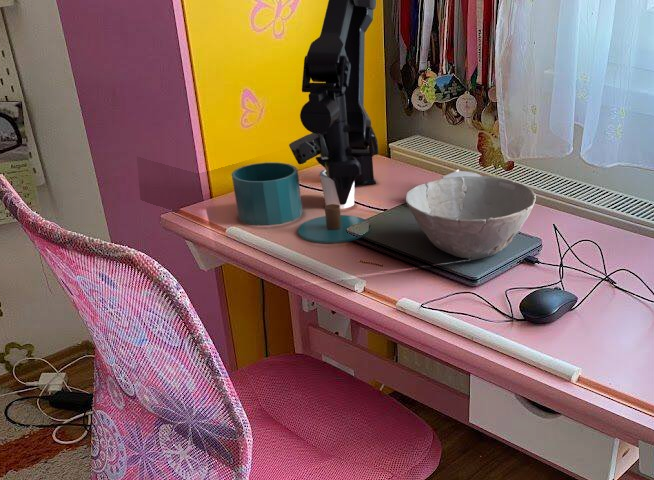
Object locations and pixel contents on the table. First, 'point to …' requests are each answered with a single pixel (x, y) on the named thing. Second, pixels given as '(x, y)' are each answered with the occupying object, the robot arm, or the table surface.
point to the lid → (330, 227)
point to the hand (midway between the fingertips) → (339, 199)
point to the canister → (267, 193)
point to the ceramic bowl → (471, 213)
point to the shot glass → (334, 192)
